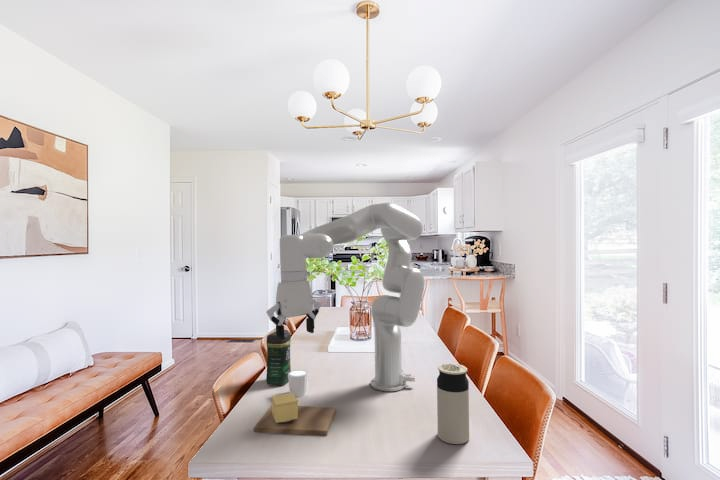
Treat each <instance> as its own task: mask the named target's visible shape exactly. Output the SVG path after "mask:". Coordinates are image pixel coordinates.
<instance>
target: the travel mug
mask: <svg viewBox="0 0 720 480" xmlns="http://www.w3.org/2000/svg"><path fill="white" fill-rule="evenodd" d="M437 370H438V373H439V375H438V377H437V379H436V394H437V395H436V401H437V405H436V407H437V413H436V415H437V436H438V439H440V440H441V441H443V442H445V443H447V444H451V445H463V444H465V443H467V442H469V440H470V396H469V395H470V391H469V390H470V388H469V383H470V382H469V379H468V378H467V372H468V368H467V367H466V366H465V365H463V364H459V363H455V362H454V363H452V362H451V363H446V362H445V363H441V364H440V365H438V366H437Z"/></svg>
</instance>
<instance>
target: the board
mask: <svg viewBox="0 0 720 480" xmlns="http://www.w3.org/2000/svg"><path fill="white" fill-rule="evenodd" d="M336 413H337V407H336V406H312V405H311V406H309V405H307V406H306V405H298V419H293V421H292V422H290V423H287V424H279V423H276V422H275V419H274V417H273V414H272V404H271V405H270V406H269V408H268V409H267V410H266V412H265V413H263V415H262V416H261V417H260V419H259V420H258V421H257V423H256V424H255V426H254V427H253V432H255V433H267V434H268V433H269V434H291V435H292V434H293V435H312V436H313V435H315V436H327V435H328V433H329V431H330V428H331V425H332V423H333V420H334V418H335V415H336Z"/></svg>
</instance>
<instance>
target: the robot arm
mask: <svg viewBox="0 0 720 480" xmlns="http://www.w3.org/2000/svg"><path fill="white" fill-rule="evenodd" d="M423 227H424V226H423V223H422V221H421V220H420V218H419V217H417V216H416V215H415V214H413V213H411V212H410V211H408V210H406V209H404V208H403V207H401V206H399V205H397V204H396V203H392V202H381V203H373V204H370V205H366V206H365V207H363V208H361V209H359V210H357V211H354V212H352V213H349V214H347V215H345V216H343V217H340V218H337V219H335V220H332V221H329V222H328V223H324V224H322V225H319V226H316V227H314V228H311V229H309V230H307V231H305V232H303V233H301V234H285V235H282V236H281V237H280V238H279V260H280V261H279V263H280V267H279V268H280V281H279V282H277V287H276V294H275V295H276V297H275V304H274V305H273V306H271V307H270V308H269V309H267V310H266V314H267V316H268V318H269V320H270V321H271V322H272V323H273V324H274V325H275V331H276V335H277V337H278V338H279V339H281V340H283V339H284V330H285V326H284V325H283V323H284V321H285V320H286V319H287V318H294V317H301V316H306V317H307V318H306V319H305V321H306V323H305V325H306V332H308V333H309V334H314V333H315V330H314V329H315V320H316V317H317V315H318V314H319V311H320V308H321V306H322V303H321V302H319V301H318V300H314V299H313V297H312V289H311V285H310V280H308V277H310V276H311V272H310V271H308V268H307V259H310V258H311V259H323V258H326V257H328V256H329V255H330V254H331V253H332V252H333V249H334V246H335V245H341V244H347V243H351V242H354V241H356V240H359V239H361V238H362V237H365V236H366V235H368V234H370V233H371V232H374V231H376V230H379V229H380V232H381V235H382V237H383V238H384V240H385V242H386V244H387V247H388V248H387V249H388V255H387V260H386V265H385V268H384V273H383V276H382V287H383V289H384V290H386V291H387V292H389V293H394V294H400V295H399V296H398V297H397V296H395V295H385V294H384V295H380V296H377V297H376V298H375V299H374V300H373V301H372V303H371V307H370V308H371V317H372V323H373V329H374V332H373V333H374V377H373V378H372V379H371V380H370V386H371V387H372V388H373V389H375V390H378V391H382V392H397V391H401V390H404V389H405V388H406V387H407V382H412V383H413V382H416V377H415V375H412V373H407V374H406V373H404V370H403V368H402V366H403V363H402V358H403V355H402V352H403V351H402V350H403V349H402V348H403V347H402V332H401V329H400V327H404V328H408V327H411V326H413V325H414V323H416V321H417V318H418V316H419V313H420V307H421V304H422V303H421V302H422V299H423V295H424V290H425V278H424V277H425V276H424V274H423V272H422V271H421V270H420V269H418V268H417V267H411V264H412V263H411V262H412V257H413V256H412V255H413V254H412V250H411V247H410V245H409V243H408V241H415V240H418V238H420V237H421V236H422V234H423V231H424V229H423ZM313 305H314V307H313ZM274 313H275V314H276V316H275V314H274Z"/></svg>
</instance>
